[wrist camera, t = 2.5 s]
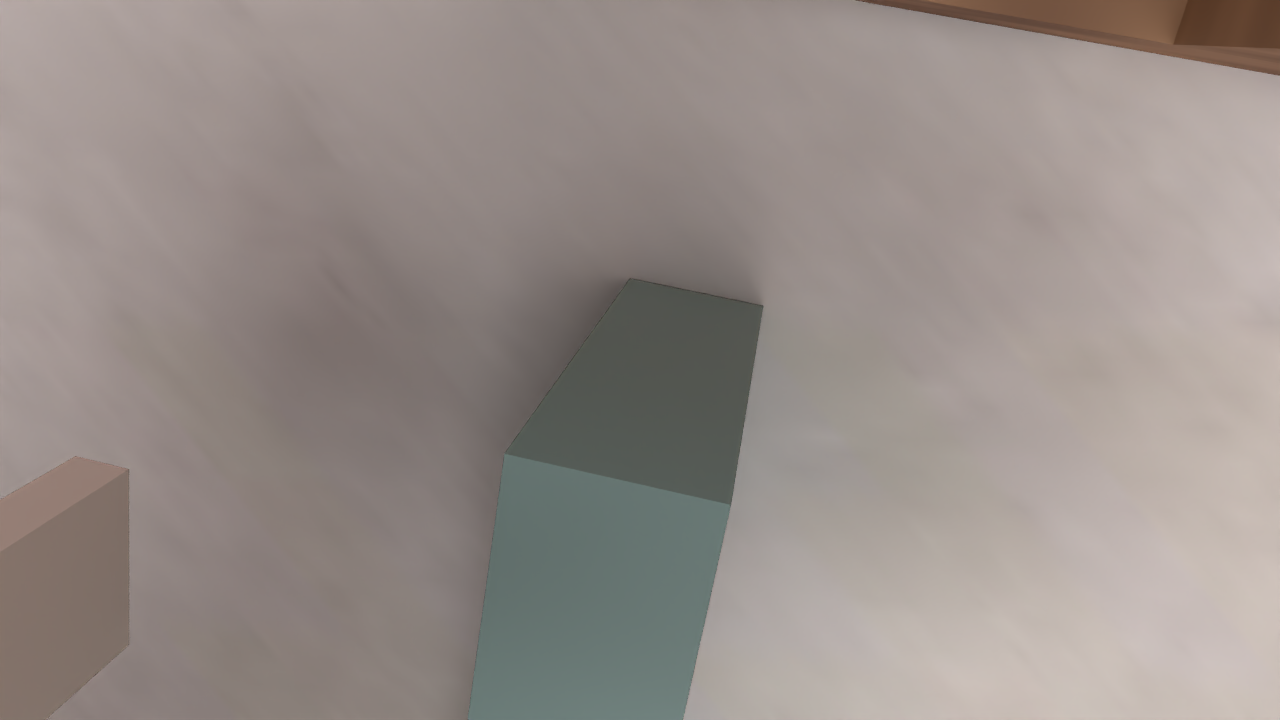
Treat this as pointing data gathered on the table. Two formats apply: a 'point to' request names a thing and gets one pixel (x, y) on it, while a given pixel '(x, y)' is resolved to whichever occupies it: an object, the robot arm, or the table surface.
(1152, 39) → the notched wooden saddle block
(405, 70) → the table surface
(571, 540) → the teal notched bridge
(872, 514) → the table surface
